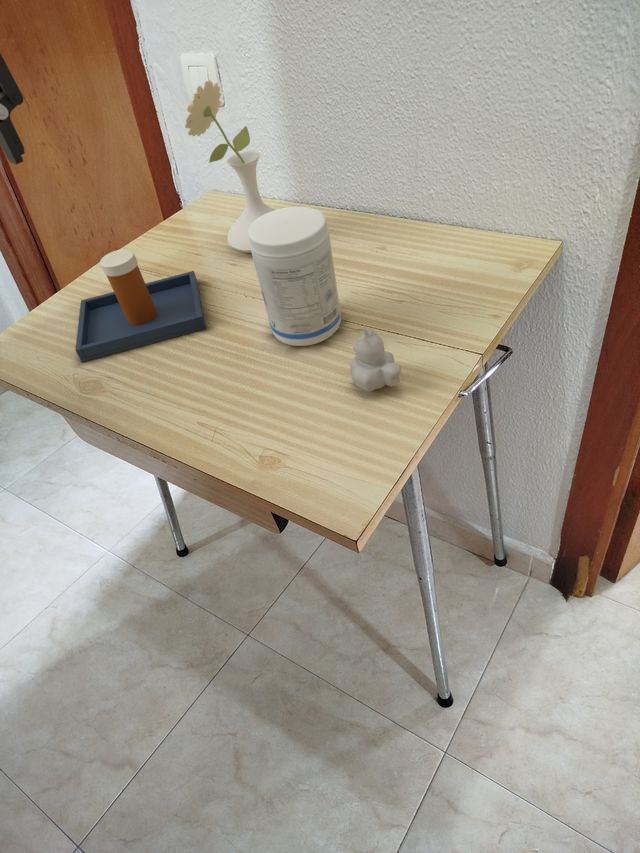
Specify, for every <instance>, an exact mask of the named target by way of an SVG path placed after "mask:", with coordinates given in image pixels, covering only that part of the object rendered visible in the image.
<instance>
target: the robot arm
mask: <svg viewBox="0 0 640 853" xmlns="http://www.w3.org/2000/svg"><path fill="white" fill-rule="evenodd" d="M23 102H24V96H23V94H22V91H21V90H20V88H19V86H18V84H17V82H16V80H15V78H14V76H13V74H12V72H11V70H10V68H9V67H8V65H7V62H6V61H5V59H4V57H3V55H2V53H1V52H0V146H1V149H2V151H3V153H4V154H5V156H6V158H7V160H8V161H9V162H10V163H11V164H14V165H19V164H21V163H24V159H23V157H22V155H25V153H26V152H25V146H24V143H23V142H22V140H21V138H20V136H19V134H18V132H17V130H16V128H15V125H14V123H13V122H12V119H11V113H12V111H13V110H14V109H16V108H17V106H21V105H22V104H23Z"/></svg>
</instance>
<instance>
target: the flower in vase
mask: <svg viewBox="0 0 640 853" xmlns="http://www.w3.org/2000/svg"><path fill="white" fill-rule="evenodd" d="M221 94H222V93H221V88H220V86H219V83H218V82H215V83H213V82H212V80H211V79H209V80H206V81H205V82H204V84H203V86H201V85H198V86H197V88H196V93H194V94H193V100H192V103H190V104H188V105H187V108H186V110H187V112H188V113H189V114H188V115H187V117H186V118H185V125H184V128H185V129H188V136H192V137H195V136H197V137H200V136H201V135H204V134H206V132H207V130H209V129H210V128H211V125H212V123H215V124H216V126H217V127H218V130H219V131H220V133H221V134H222V136H223V138H224V140H225V142H226V143H220V144H218V145H217V146H216V147H215V148H214V149H213V150H212V152H211V154H210V156H209V164H210V163H213V162H219V161H220V160H222V159H224V157H225V155H226V153H227V151H228V149H229V147H230V149H231V150H232V151H233V152H234V153H235V154H233V155H231V156H230V157H229V158H228V159H227V160H226V162H227V164H228V165H229V166H230V167H231V168H232V169H233V170H234V171H235V173H236V174H237V177H238V178H239V180H240V184H241V186H242V189H243V192H244V197H245V208H244V210H243V211H242V213H241V214H240V215H239V217H237V219H236V220H235V221H234V223H233V224H232V225H231V227H230V228H229V231H228V234H227V244H228V245H229V246H230V247H231V248H232V249H234V250H235V251H238V252H241V253H245V254H247V253H249V254H252V253H251V248H250V244H249V241H250V240H249V236H248V230H249V227H250V226H251V224H252V223H253V222H254V221H255V220H256V219H258V218H259V217H261V216H262V215H264V214H266V213H269V212H271V211H274V210H277V209H275V208H273V207H271V206H269V205H267V204H265V203H264V201H263V200H262V198H261V195H260V191H259V186H258V181H257V180H258V179H257V167H258V166H257V165H258V162H259V159H260V156H261V155H260V154H261V153H259V152H258V151H255V150H253V151H252V150H251V151H248V150H247V151H243V150H244V149H245V148H246V147H248V146H249V145H250V142H251V136H250V133H249V129H248V127H247V125H245V126H244V127H243V128H242V129H241V130H240V131H239V132H238V133H237V134H236V135H235V136H234V137H233V139H232V143H231V142H230V140H229V139H228V137H227V134H226V133H225V132H224V130H223V128H222V126H221V125H220V123H219V122H218V119H217V118H216V117H217V114H218V113H219V108H220V106H221V103H222V101H221V100H220V99H221Z"/></svg>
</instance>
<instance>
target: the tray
mask: <svg viewBox="0 0 640 853" xmlns="http://www.w3.org/2000/svg"><path fill="white" fill-rule="evenodd" d="M145 284H146V287H147V289H148V291H149V294H150V296H151V299H152V301H153V304H154V306H155V308H156V311H157V315H156V316H155V318H154V319H152V320H151V321H149V322H147V323H145V324H142V325H131V324H129V323H128V321H127V319H126V317H125V315H124V313H123V310H122V308H121V306H120V304H119V302H118V299H117V297H116V295H115V293H114V291H112V292H108V293H104V294H100V295H96V296H93V297H88V298H84V299H81V300H80V306H79V315H78V324H77V333H76V342H75V352H76V354H77V356H78V358H79V360H80V362H81V363H85V362H88V361H92V360H96V359H99V358H104V357H106V356H110V355H113V354H117V353H122V352H126V351H129V350H133V349H136V348H140V347H144V346H148V345H151V344H155V343H159V342H163V341H166V340H170V339H173V338H177V337H181V336H185V335H189V334H192V333H195V332H199V331H203V330H206V329H207V324H206V319H205V314H204V308H203V304H202V297H201V292H200V286H199V282H198V279H197V275H196V273H195V270H191V271H188V272H184V273H180V274H177V275H173V276H169V277H165V278H164V277H163V278H162V279H157V280H154V281H149V282H145Z"/></svg>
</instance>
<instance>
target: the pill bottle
mask: <svg viewBox="0 0 640 853" xmlns="http://www.w3.org/2000/svg"><path fill="white" fill-rule="evenodd" d="M134 252H135V251H133V250H131V249H128V248H122V249H121V248H120V249H117V250H113V251H111V252H109V253H107V254H105V255H104V256H103V257H102V258H101V259H100V260H99V265H100V267H101V269H102V272H103V274H104V275H105V276H106V277H107V279H108V282H109V284H110V286H111V288H112V292H114V293H115V295H116V297H117V299H118V302H119V304H120V306H121V308H122V310H123V313H124V315H125V317H126V319H127V321H128V323H129V324H131V325H142V324H145V323H147V322H149V321H151V320H152V319H154V318H155V316H156V315H157V311H156V308H155V306H154V304H153V301H152V299H151V296H150V294H149V291H148V289H147V287H146V284H145V283H146V282H145V279H144V277H143V274H142V272H141V269H140V267H139V265H138V262H139V261H138V259H137V256H136V255H135V253H134Z"/></svg>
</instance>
